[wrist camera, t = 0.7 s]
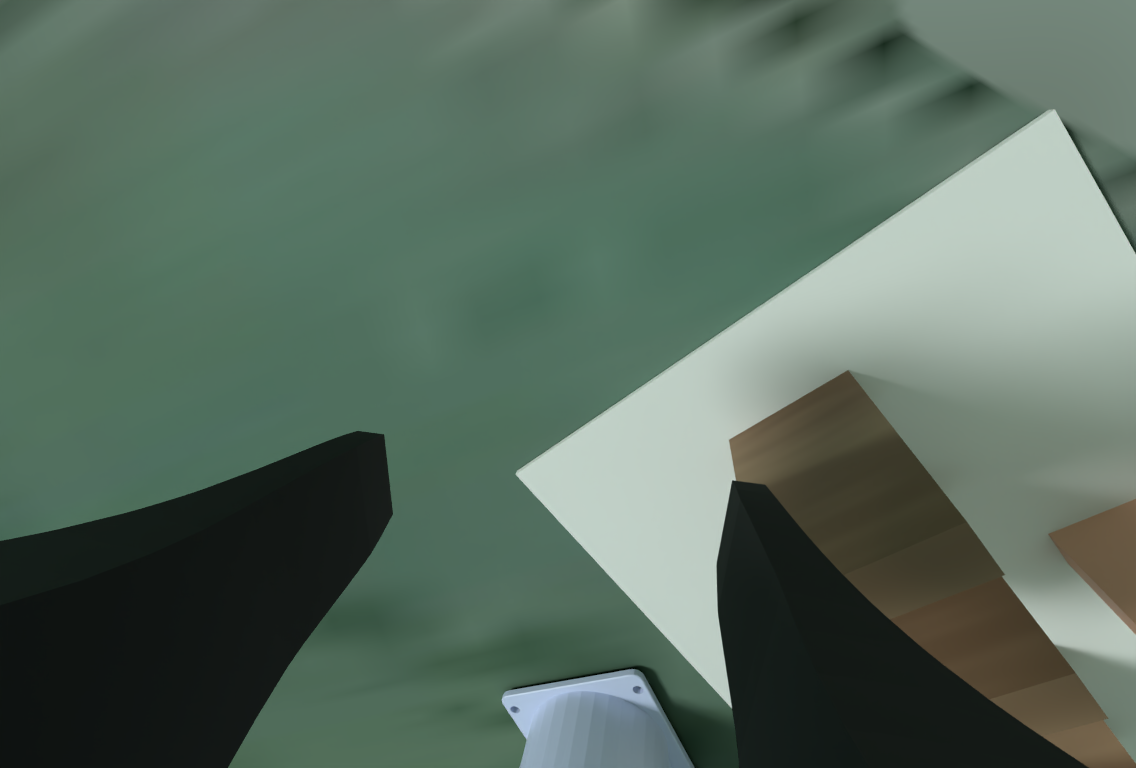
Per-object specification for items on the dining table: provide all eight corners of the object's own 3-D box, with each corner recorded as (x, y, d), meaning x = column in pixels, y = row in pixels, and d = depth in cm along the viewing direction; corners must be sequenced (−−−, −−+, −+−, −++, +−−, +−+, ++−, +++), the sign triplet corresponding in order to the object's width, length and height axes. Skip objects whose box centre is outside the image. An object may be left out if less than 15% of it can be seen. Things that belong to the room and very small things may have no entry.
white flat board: (1397, 731, 20) (1406, 738, 20) (865, 848, 28) (867, 855, 28) (1048, 110, 15) (1054, 109, 15) (517, 470, 23) (515, 474, 23)
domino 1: (872, 403, 19) (1005, 575, 11) (752, 469, 21) (796, 655, 13) (848, 369, 19) (966, 521, 11) (728, 439, 21) (759, 611, 13)
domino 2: (942, 499, 20) (1108, 718, 12) (821, 554, 22) (900, 774, 14) (919, 468, 20) (1075, 673, 12) (799, 527, 21) (866, 736, 14)
